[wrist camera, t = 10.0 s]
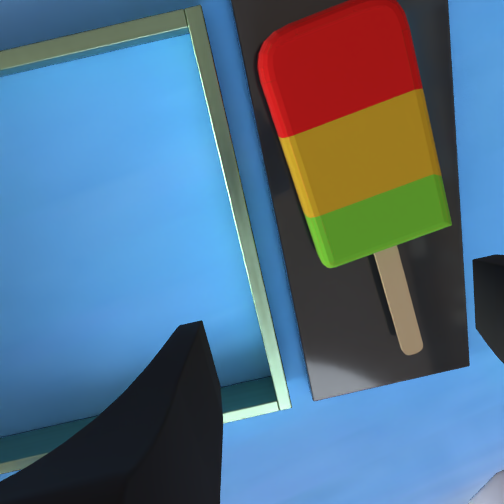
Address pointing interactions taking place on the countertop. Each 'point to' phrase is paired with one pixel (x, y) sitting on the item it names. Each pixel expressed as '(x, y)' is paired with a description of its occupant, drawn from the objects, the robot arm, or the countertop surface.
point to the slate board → (365, 269)
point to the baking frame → (192, 21)
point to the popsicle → (357, 139)
